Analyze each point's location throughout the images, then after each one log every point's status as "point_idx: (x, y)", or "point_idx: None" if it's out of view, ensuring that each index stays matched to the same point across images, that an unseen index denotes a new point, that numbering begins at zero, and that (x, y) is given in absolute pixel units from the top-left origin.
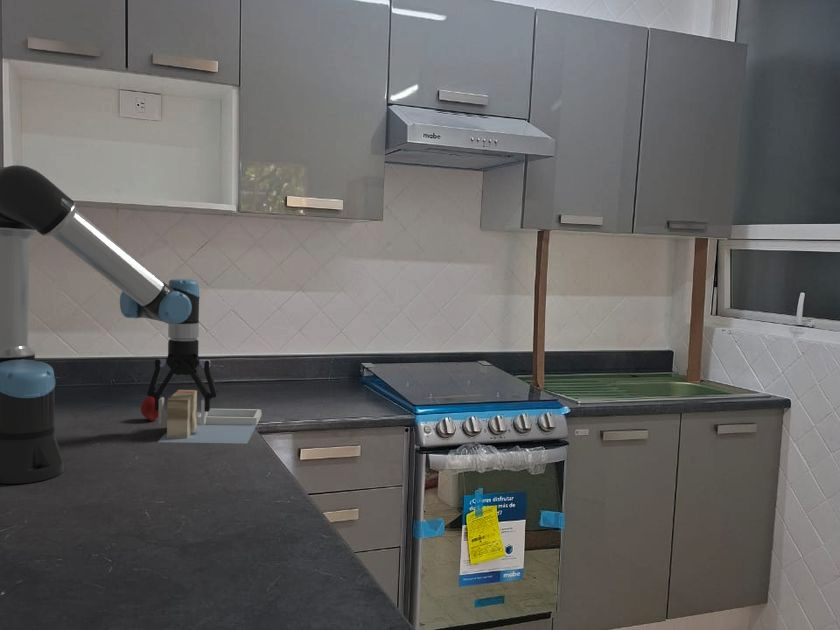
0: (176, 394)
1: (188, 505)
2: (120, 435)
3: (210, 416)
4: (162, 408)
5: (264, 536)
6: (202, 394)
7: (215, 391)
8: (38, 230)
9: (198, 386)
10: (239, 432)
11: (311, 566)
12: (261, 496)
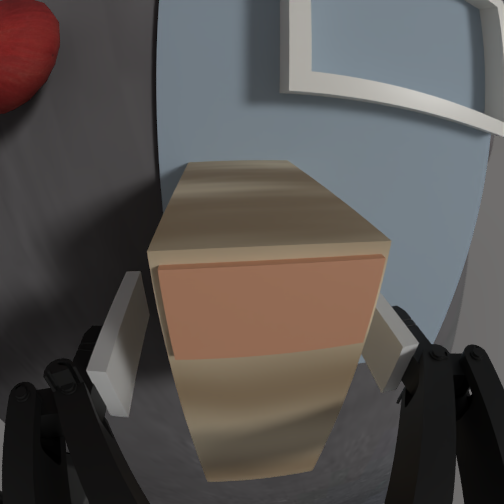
0: (212, 418)
1: (309, 498)
2: (35, 303)
3: (359, 79)
4: (131, 353)
5: (359, 497)
6: (401, 416)
7: (471, 400)
8: None
9: (398, 468)
10: (443, 241)
11: (373, 500)
12: (377, 474)
